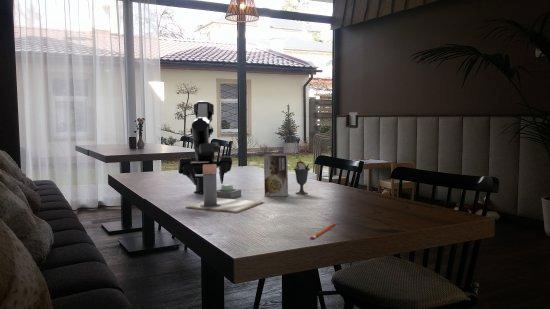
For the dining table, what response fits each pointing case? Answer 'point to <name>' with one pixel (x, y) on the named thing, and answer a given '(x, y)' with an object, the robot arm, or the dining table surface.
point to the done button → (227, 187)
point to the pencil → (323, 231)
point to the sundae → (301, 175)
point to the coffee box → (275, 175)
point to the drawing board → (227, 205)
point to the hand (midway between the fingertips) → (209, 183)
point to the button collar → (228, 194)
